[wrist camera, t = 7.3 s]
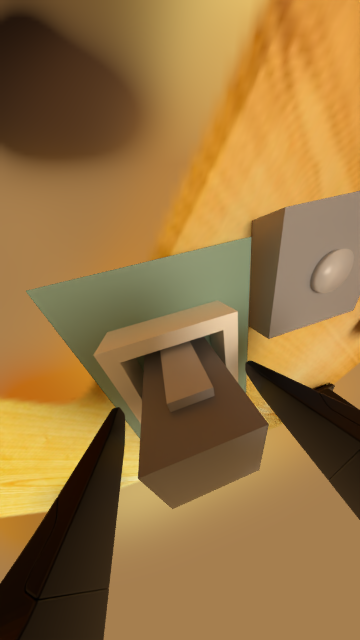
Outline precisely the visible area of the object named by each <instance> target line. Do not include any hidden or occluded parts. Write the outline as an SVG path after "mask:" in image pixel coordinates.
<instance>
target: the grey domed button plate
mask: <svg viewBox="0 0 360 640" xmlns="http://www.w3.org/2000/svg"><path fill="white" fill-rule="evenodd" d="M359 296H360V191H357V192H353V193H348V194H344V195H339V196H335V197H330V198H325V199H321V200H316V201H312V202H307V203H303V204H298V205H294V206H289V207H285V208H283V209H280V210H278V211H275V212H273V213H270V214H268V215H265V216H263V217H260V218H258V219H255V220H253V222H252V248H251V275H250V302H249V327H251V328H253V329H254V330H256V331H257V332H259V333H260V334H262V335H263V336H265V337H267V338H268V339H270V338H273V337H276V336H279V335H282V334H284V333H287V332H290V331H293V330H296V329H299V328H302V327H305V326H308V325H311V324H314V323H317V322H320V321H323V320H326V319H329V318H332V317H335V316H338V315H341V314H344V313H347V312H350V311H353V310H354V307H355V305H356V303H357V300H358V298H359Z"/></svg>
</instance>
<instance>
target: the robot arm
mask: <svg viewBox="0 0 360 640" xmlns="http://www.w3.org/2000/svg"><path fill="white" fill-rule="evenodd" d="M245 371H246V374H247V375H248V377H249V378H250V380H251V381H252V383H253V384H254V386H255V387H256V389H257V390H258V392H259V393H260V395H261V396H262V397H263V399H264V400H265V401H266V402H267V404H268V405H269V406H270V407H271V409H272V410H273V411H274V412H275V414H276V415H277V416H278V417H279V419H280V420H281V421H282V422H283V424H284V425H285V426H286V428H287V429H288V430H289V431H290V432H291V434H292V435H293V436H294V438H295V439H296V440H297V441H298V443H299V444H300V445H301V446H302V448H303V449H304V450H305V451H306V453H307V454H308V455H309V456H310V458H311V459H312V460H313V461H314V463H315V464H316V465H317V467H318V468H319V469H320V470H321V471H322V473H323V474H324V475H325V477H326V478H327V479H328V480H329V482H330V483H331V484H332V486H333V487H334V488H335V489H336V491H337V492H338V493H339V494H340V496H341V497H342V498H343V499H344V501H345V502H346V503H347V504H348V506H349V507H350V508H351V510H352V511H353V512H354V513H355V515H356V516H357V517H358V518H359V520H360V410H359V409H357V408H356V407H355V406H353V405H352V404H350V403H349V402H347V401H346V400H345V399H343V398H342V397H340V396H339V395H337V394H336V393H334V392H333V389H334V387H335V386H334V385H333V384H329V385H326V386H324V387H321V388H319V389H316V390H314V389H311V388H309V387H307V386H305V385H303V384H301V383H299V382H296V381H294V380H292V379H290V378H288V377H286V376H284V375H281V374H279V373H277V372H275V371H273V370H271V369H269V368H266V367H264V366H262V365H260V364H258V363H256V362H253V361H248V362H246V363H245ZM124 445H125V414H124V412H123V411H122V409H121V408H120V407H117V408H114V409H112V410H111V412H110V413H109V415H108V417H107V418H106V420H105V421H104V423H103V425H102V426H101V428H100V429H99V431H98V433H97V434H96V436H95V437H94V439H93V441H92V442H91V444H90V445H89V447H88V449H87V450H86V452H85V453H84V455H83V457H82V458H81V460H80V461H79V463H78V465H77V466H76V468H75V469H74V471H73V473H72V474H71V476H70V477H69V479H68V481H67V482H66V484H65V485H64V487H63V489H62V490H61V492H60V493H59V495H58V498H56V500H55V501H54V503H53V505H52V506H51V508H50V509H49V511H48V513H47V514H46V516H45V517H44V519H43V520H42V522H41V524H40V525H39V527H38V528H37V530H36V531H35V533H34V534H33V536H32V537H31V539H30V540H29V542H28V543H27V545H26V546H25V548H24V549H23V551H22V552H21V554H20V556H19V557H18V558H17V560H16V561H15V563H14V564H13V566H12V567H11V569H10V570H9V572H8V573H7V574H6V576H5V578H4V579H3V580H2V582H1V583H0V640H103V638H104V629H105V619H106V611H107V602H108V593H109V583H110V573H111V564H112V555H113V546H114V537H115V528H116V518H117V509H118V501H119V492H120V483H121V474H122V465H123V456H124Z"/></svg>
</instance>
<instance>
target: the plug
mask: <svg viewBox="0 0 360 640" xmlns="http://www.w3.org/2000/svg"><path fill="white" fill-rule="evenodd" d="M268 425H269V424H268V423H267V422H266V420H265V419H264V418H263V416H262V415H261V414H260V412H259V411H258V409H257V408H256V407H255V405H254V404H253V403H252V401H251V400H250V399H249V397H248V396H247V394H246V393H245V392H244V390H243V389H242V388H241V386H240V385H239V384H238V382H237V381H236V380H235V378H234V377H233V375H232V374H231V373H230V371H229V370H228V369H227V367H226V366H225V365H224V363H223V362H222V361H221V359H220V358H219V356H218V355H217V354H216V352H215V351H214V350H213V348H212V347H211V346H210V344H209V343H208V342H207V340H206V339H205V337H204V336H203V337H200V338H197V339H193V340H190V341H187V342H184V343H181V344H178V345H175V346H171V347H168V348H165V349H162V350H159V351H156V352H152V353H149V354H146V355H145V356H144V375H143V394H142V414H141V433H140V452H139V472H138V479H139V480H140V481H141V482H143V483H144V484H145V485H146V486H147V487H148V488H150V490H152V491H153V492H154V493H155V494H156V495H157V496H158V497H159V498H161V499H162V500H163V501H164V502H165V503H166V504H167V505H169V506H170V507H171V508H172V509H174V508H176V507H178V506H180V505H183V504H185V503H187V502H189V501H191V500H194V499H196V498H198V497H200V496H203V495H205V494H207V493H209V492H211V491H214V490H216V489H218V488H220V487H222V486H225V485H227V484H229V483H231V482H234V481H236V480H238V479H240V478H242V477H245V476H247V475H249V474H251V473H253V472H256V471H258V470H259V468H260V463H261V459H262V454H263V449H264V444H265V439H266V435H267V430H268Z"/></svg>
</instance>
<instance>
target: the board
mask: <svg viewBox="0 0 360 640" xmlns="http://www.w3.org/2000/svg"><path fill="white" fill-rule="evenodd" d="M250 264H251V237H248V238H244V239H240V240H235V241H231V242H227V243H223V244H219V245H215V246H210V247H206V248H202V249H198V250H194V251H190V252H185V253H181V254H177V255H173V256H169V257H165V258H160V259H156V260H152V261H148V262H144V263H140V264H136V265H131V266H127V267H123V268H119V269H115V270H110V271H106V272H102V273H98V274H94V275H90V276H86V277H81V278H77V279H73V280H69V281H65V282H60V283H57V284H52V285H48V286H44V287H40V288H36V289H32V290H27V291H26V292H27V294H28V295H29V296H30V297H31V299H32V300H33V301H34V303H35V304H36V305H37V306H38V307H39V309H40V310H41V312H42V313H43V314H44V315H45V317H46V318H47V319H48V321H49V322H50V323H51V324H52V325H53V327H54V328H55V330H56V331H57V332H58V334H59V335H60V336H61V337H62V339H63V340H64V341H65V342H66V344H67V345H68V346H69V348H70V349H71V350H72V352H73V353H74V354H75V355H76V357H77V358H78V359H79V360H80V362H81V363H82V364H83V366H84V367H85V368H86V369H87V371H88V372H89V374H90V375H91V376H92V377H93V379H94V380H95V381H96V383H97V384H98V385H99V386H100V388H101V389H102V390H103V392H104V393H105V394H106V395H107V397H108V398H109V399H110V401H111V402H112V403H113V404H114V406H115V407H116V408H117V407H120V408H121V409H122V411H123V412H124V414H125V420H126V421H127V423H128V424H129V425H130V426H131V428H132V429H133V430H134V432H135V433H136V434H137V435H138V437H139V438H140V433H141V414H142V394H143V375H144V356H145V355H146V354H149V353H152V352H156V351H159V350H162V349H165V348H168V347H171V346H175V345H178V344H181V343H184V342H187V341H190V340H193V339H197V338H200V337H203V336H204V337H205V339H206V340H207V342H208V343H209V344H210V346H211V347H212V348H213V350H214V351H215V352H216V354H217V355H218V356H219V358H220V359H221V361H222V362H223V363H224V365H225V366H226V367H227V369H228V370H229V371H230V373H231V374H232V375H233V377H234V378H235V380H236V381H237V382H238V384H239V385H240V386H241V388H242V389H243V390H244V392H245V393H246V375H247V374H246V371H245V363H246V362H247V347H248V319H249V292H250Z"/></svg>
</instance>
